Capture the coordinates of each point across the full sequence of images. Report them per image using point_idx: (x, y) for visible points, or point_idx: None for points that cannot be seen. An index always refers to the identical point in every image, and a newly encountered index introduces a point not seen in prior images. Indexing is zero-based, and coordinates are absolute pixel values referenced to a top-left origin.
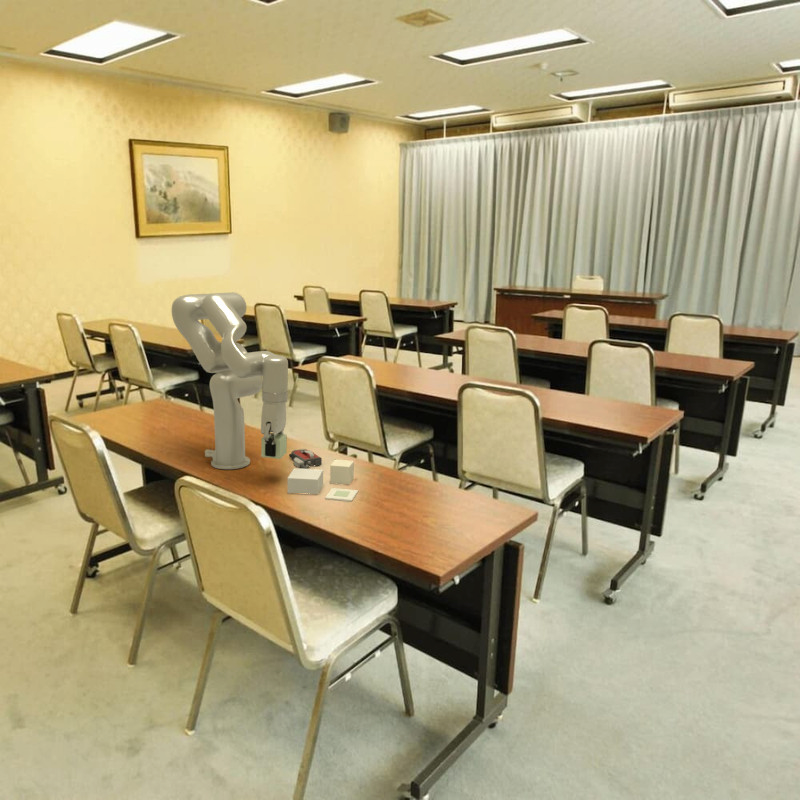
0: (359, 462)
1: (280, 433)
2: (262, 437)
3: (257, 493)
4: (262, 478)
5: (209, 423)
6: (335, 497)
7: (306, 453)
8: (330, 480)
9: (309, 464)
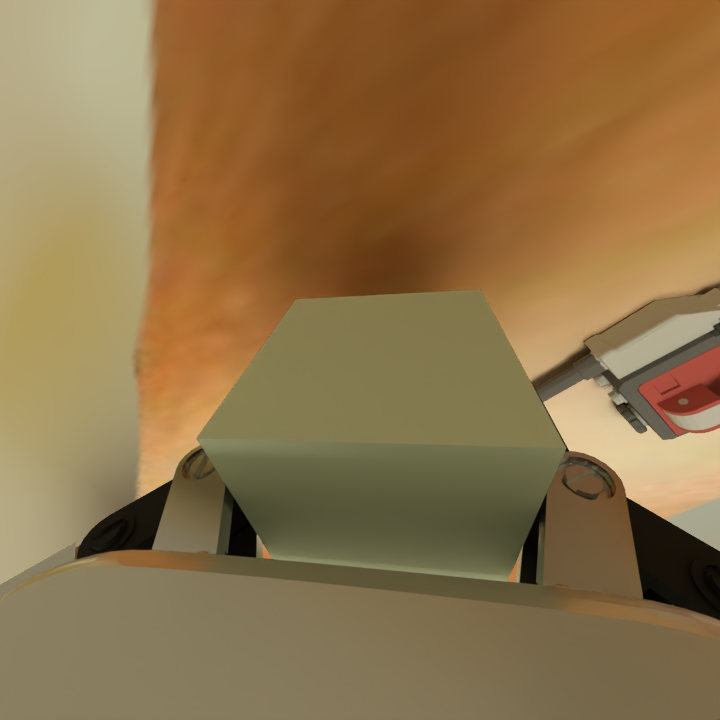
0: (655, 512)
1: (518, 570)
2: (236, 440)
3: (198, 295)
4: (385, 223)
5: None
6: None
7: None
8: None
9: (615, 388)
